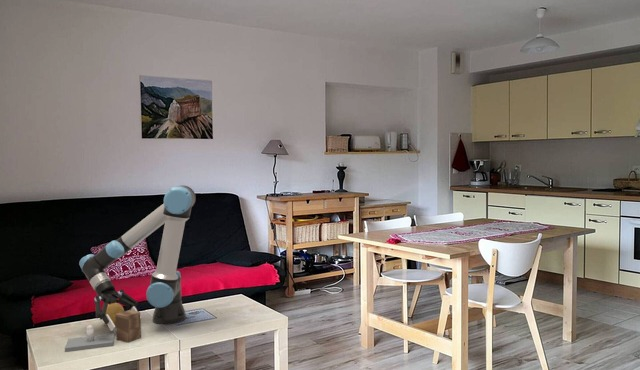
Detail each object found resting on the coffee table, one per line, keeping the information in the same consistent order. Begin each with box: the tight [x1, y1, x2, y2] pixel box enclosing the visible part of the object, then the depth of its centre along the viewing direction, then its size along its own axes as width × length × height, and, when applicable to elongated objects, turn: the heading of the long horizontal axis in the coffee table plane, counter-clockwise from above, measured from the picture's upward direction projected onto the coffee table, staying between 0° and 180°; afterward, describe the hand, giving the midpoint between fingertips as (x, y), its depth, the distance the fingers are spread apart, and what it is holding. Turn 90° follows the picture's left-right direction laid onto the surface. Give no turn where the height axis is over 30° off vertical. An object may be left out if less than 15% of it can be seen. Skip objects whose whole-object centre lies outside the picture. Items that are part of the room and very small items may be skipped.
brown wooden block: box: [115, 309, 142, 343], centre depth 227 cm, size 7×7×11 cm
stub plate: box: [64, 324, 115, 353], centre depth 222 cm, size 18×12×8 cm, turn 109°
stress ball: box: [106, 302, 125, 325], centre depth 249 cm, size 10×10×10 cm
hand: (126, 324), depth 227 cm, fingers open, 13 cm apart
